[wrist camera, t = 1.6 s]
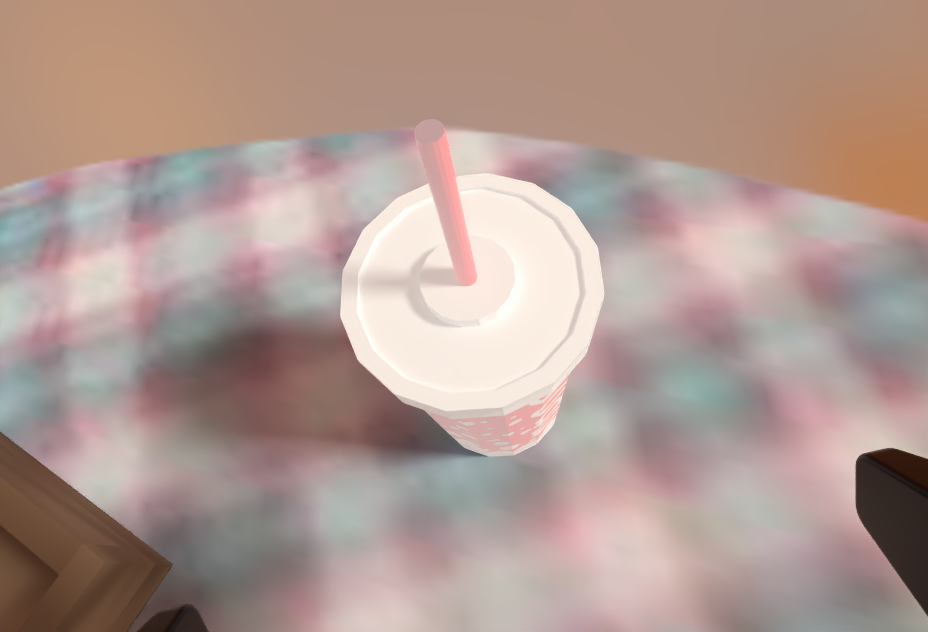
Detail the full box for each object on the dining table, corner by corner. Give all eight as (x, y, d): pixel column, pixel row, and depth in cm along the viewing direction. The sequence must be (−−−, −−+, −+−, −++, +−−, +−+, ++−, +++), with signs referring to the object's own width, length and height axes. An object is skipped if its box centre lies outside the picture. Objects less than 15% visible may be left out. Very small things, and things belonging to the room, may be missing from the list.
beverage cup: (479, 516, 20) (366, 404, 7) (384, 380, 23) (175, 120, 10) (618, 408, 21) (729, 142, 8) (512, 288, 23) (472, -58, 11)
